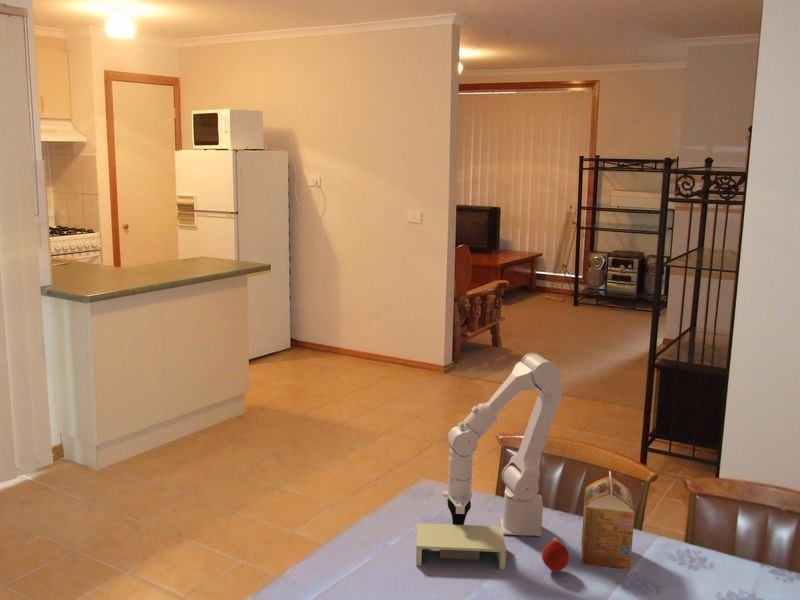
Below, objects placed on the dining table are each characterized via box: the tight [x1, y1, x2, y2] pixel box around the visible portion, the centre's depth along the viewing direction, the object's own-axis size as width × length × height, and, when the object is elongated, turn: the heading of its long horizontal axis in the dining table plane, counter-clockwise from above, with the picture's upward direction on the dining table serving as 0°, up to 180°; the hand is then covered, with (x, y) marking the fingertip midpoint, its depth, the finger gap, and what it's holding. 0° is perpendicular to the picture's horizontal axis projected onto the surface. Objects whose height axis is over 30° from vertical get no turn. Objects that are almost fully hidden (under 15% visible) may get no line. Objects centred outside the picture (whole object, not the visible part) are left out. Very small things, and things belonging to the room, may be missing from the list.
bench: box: [415, 522, 507, 570], centre depth 177 cm, size 20×11×5 cm, turn 88°
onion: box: [541, 537, 570, 573], centre depth 171 cm, size 6×6×8 cm
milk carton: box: [581, 470, 636, 571], centre depth 177 cm, size 10×11×19 cm
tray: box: [439, 549, 480, 560], centre depth 181 cm, size 9×11×3 cm
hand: (457, 528), depth 187 cm, fingers closed
